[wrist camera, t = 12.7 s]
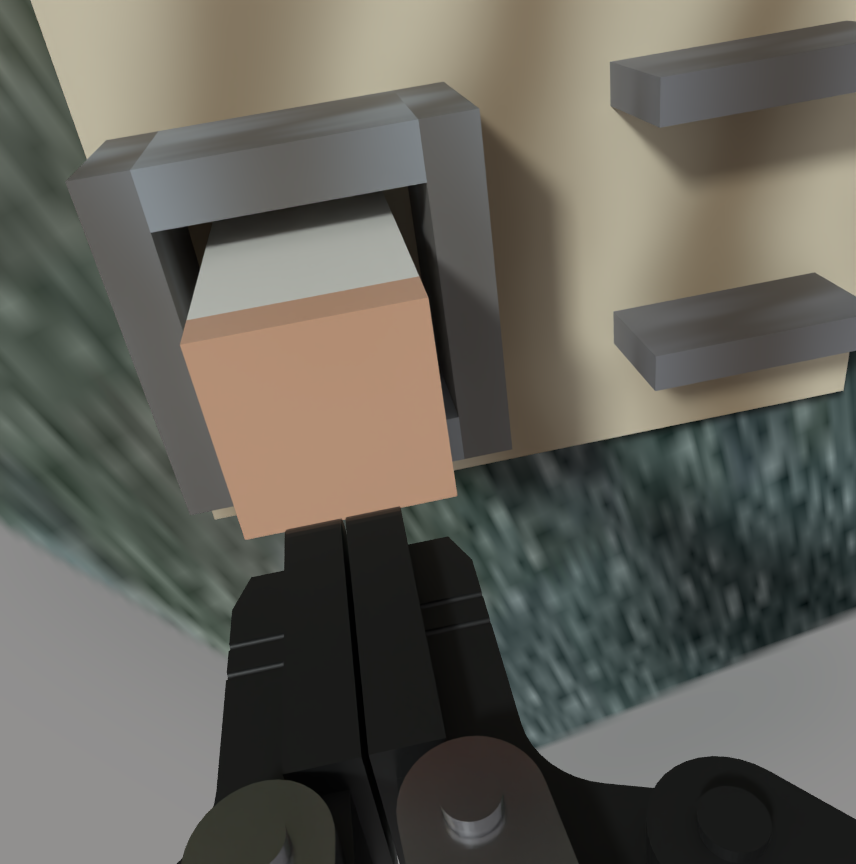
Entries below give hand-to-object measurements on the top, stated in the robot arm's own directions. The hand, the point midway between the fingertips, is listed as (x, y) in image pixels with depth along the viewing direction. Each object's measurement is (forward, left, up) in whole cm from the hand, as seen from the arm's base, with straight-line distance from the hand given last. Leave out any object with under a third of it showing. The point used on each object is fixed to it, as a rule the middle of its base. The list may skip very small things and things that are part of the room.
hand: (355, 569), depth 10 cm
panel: (-5, 0, -13) cm, 14 cm away
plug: (0, 0, -12) cm, 12 cm away
